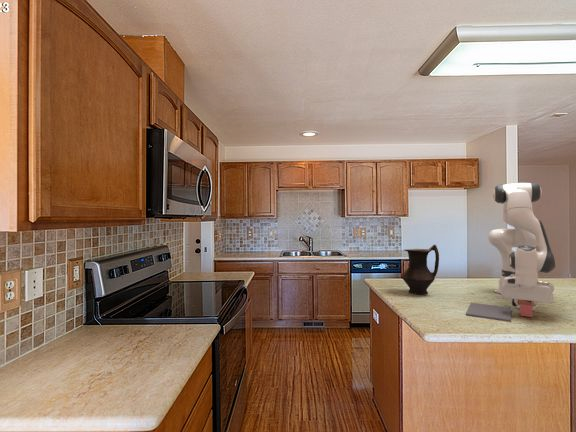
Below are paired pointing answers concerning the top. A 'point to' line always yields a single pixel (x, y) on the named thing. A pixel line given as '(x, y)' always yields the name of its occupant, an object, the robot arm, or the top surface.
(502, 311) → the mat
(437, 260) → the jug
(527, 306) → the red rectangular block
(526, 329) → the top surface
